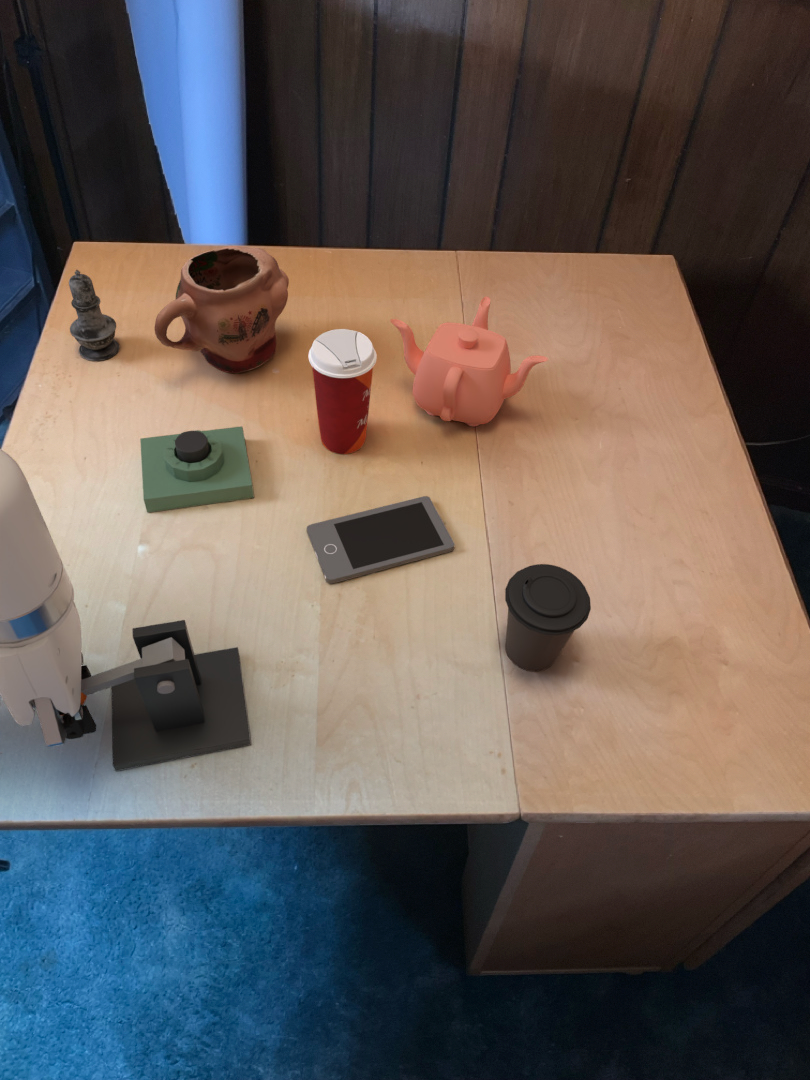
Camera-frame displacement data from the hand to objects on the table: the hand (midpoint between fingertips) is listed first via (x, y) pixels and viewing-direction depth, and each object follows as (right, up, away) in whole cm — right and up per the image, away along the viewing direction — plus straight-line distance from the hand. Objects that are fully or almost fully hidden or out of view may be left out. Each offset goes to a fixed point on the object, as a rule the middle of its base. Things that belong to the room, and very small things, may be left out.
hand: (78, 711), depth 72 cm
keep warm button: (+5, +25, +20) cm, 33 cm away
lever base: (+8, -1, +4) cm, 9 cm away
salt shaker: (-12, +41, +37) cm, 57 cm away
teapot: (+37, +34, +35) cm, 61 cm away
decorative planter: (+6, +40, +37) cm, 55 cm away
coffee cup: (+42, +4, +10) cm, 44 cm away
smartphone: (+26, +15, +18) cm, 36 cm away
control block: (+5, +23, +23) cm, 33 cm away
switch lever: (+5, +3, -2) cm, 6 cm away
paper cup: (+21, +28, +29) cm, 45 cm away
